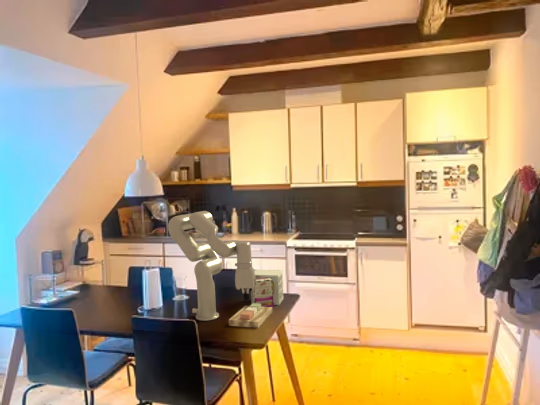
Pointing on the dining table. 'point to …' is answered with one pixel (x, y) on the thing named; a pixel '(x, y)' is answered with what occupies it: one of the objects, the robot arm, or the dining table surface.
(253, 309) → the offwhite key
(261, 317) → the keypad base
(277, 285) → the supplement box
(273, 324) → the dining table surface
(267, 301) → the candy bar box
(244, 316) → the terracotta key
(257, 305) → the sage key
